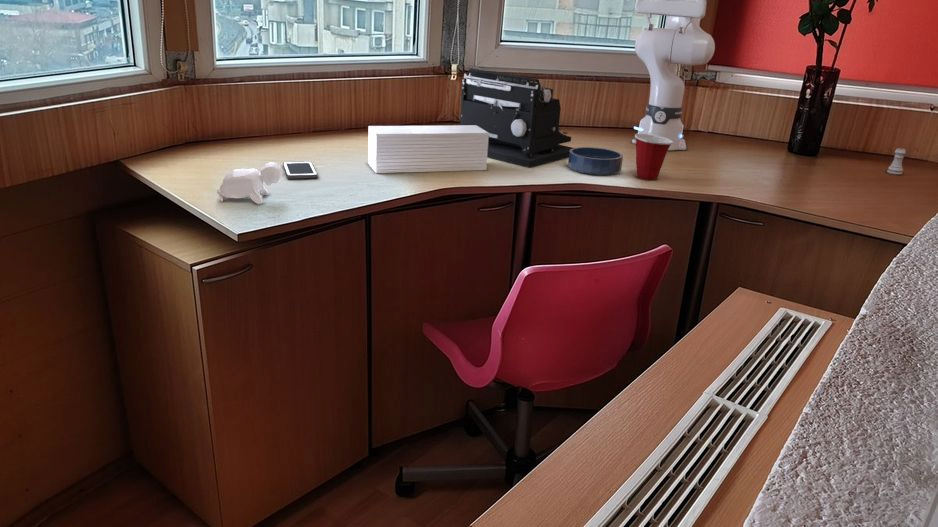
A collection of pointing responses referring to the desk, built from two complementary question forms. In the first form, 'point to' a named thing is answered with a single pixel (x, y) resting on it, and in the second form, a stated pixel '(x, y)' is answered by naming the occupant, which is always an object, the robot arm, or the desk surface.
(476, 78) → the typewriter
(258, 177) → the white animal figurine
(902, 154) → the rook chess piece
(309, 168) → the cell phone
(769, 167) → the desk surface
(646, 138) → the plastic cup
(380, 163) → the stack of papers
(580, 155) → the bowl
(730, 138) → the desk surface
